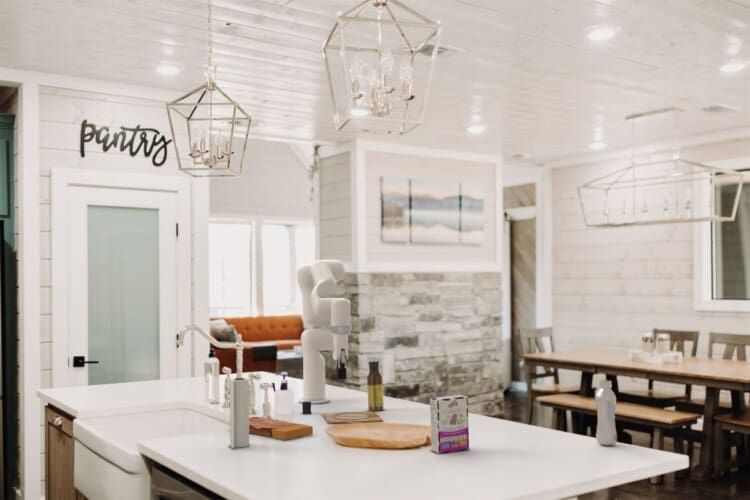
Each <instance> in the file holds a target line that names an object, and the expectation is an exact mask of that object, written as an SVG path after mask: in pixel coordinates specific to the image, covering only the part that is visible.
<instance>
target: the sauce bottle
mask: <svg viewBox="0 0 750 500" xmlns="http://www.w3.org/2000/svg"><path fill="white" fill-rule="evenodd" d="M379 364H380V362H379V360H369V361H368V367H369V368H368V369H369V373H368V375H367V377H366V382H367V384H366V387H367V405H368V411H373V412H376V411H377V412H380V411H383V410H384V387H383V386H384V385H383V377H382V375H381V373H380V369H379V368H380V367H379Z"/></svg>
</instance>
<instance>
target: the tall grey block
mask: <svg viewBox="0 0 750 500" xmlns="http://www.w3.org/2000/svg"><path fill="white" fill-rule="evenodd" d="M249 418H250V379H249V378H246V377H236V378H231V379H229V446H230V448H233V449H235V448H246V447H249V446H250V433H249Z"/></svg>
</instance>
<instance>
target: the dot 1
mask: <svg viewBox="0 0 750 500" xmlns="http://www.w3.org/2000/svg"><path fill="white" fill-rule="evenodd" d="M301 404H302V406H301V409H302V411H301V412H302V414H303V415H311V414H312V404H311V402H310V401H305V402H302V403H301Z"/></svg>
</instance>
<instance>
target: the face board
mask: <svg viewBox="0 0 750 500" xmlns="http://www.w3.org/2000/svg"><path fill="white" fill-rule="evenodd" d="M322 415H323V417H324V419H325V420H326V422H327V424H329V425H334V424H335V425H337V424H339V423H340V424H347V423H346V422H362V423H379V422H381V423H383V422H384V420H383V419H382V418H381V417H380V416H379V414H377V413H376V411H371V410H363V411H360V410H359V411H343V412H341V411H337V412H323V413H322Z"/></svg>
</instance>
